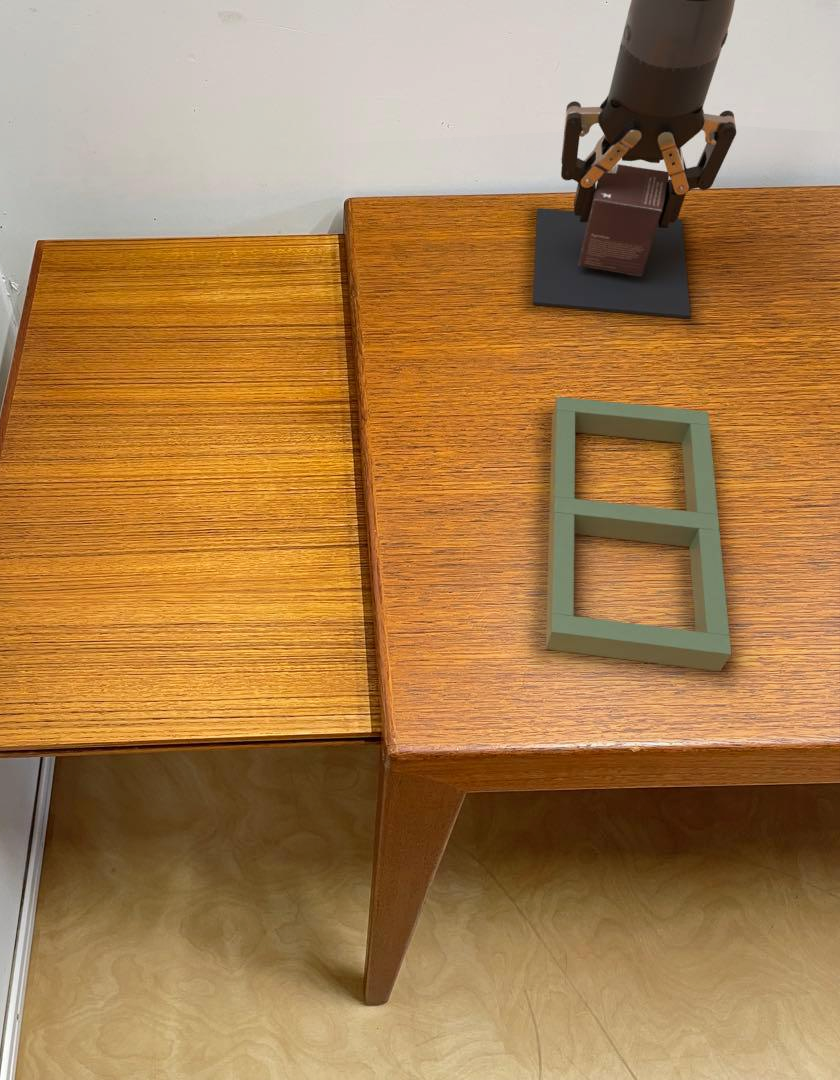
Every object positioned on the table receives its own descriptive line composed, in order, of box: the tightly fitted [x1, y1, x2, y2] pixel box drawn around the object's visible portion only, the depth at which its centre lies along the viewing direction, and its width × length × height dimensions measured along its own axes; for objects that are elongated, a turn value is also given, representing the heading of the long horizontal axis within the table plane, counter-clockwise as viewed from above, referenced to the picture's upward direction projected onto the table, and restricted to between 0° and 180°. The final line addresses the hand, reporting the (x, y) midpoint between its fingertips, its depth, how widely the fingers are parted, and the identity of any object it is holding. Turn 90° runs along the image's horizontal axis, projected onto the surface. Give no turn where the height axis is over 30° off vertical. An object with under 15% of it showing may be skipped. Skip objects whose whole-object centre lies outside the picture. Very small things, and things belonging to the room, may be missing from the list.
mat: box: [532, 208, 691, 320], centre depth 94 cm, size 14×14×1 cm
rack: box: [545, 396, 732, 672], centre depth 75 cm, size 22×12×2 cm, turn 170°
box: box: [578, 163, 670, 276], centre depth 90 cm, size 6×6×7 cm
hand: (622, 219), depth 90 cm, fingers closed on box, 6 cm apart
